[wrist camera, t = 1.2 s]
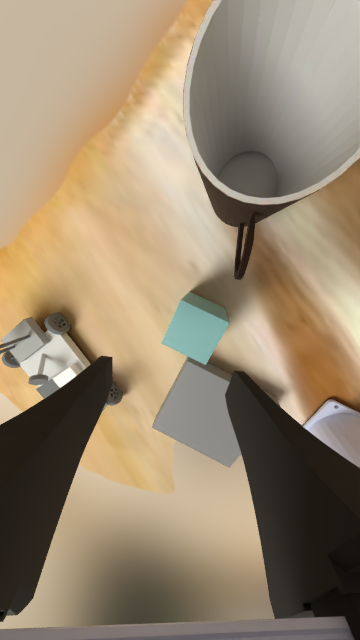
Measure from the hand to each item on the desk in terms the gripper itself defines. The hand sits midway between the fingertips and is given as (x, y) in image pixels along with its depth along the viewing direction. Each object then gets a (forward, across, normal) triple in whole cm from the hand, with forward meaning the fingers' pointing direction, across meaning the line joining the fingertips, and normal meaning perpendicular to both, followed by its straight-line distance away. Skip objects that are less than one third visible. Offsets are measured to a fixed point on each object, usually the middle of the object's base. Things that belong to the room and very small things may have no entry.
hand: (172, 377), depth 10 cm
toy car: (+15, +15, +13) cm, 25 cm away
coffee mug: (+12, -4, -11) cm, 17 cm away
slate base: (+9, -7, +13) cm, 17 cm away
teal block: (+11, -3, 0) cm, 12 cm away
